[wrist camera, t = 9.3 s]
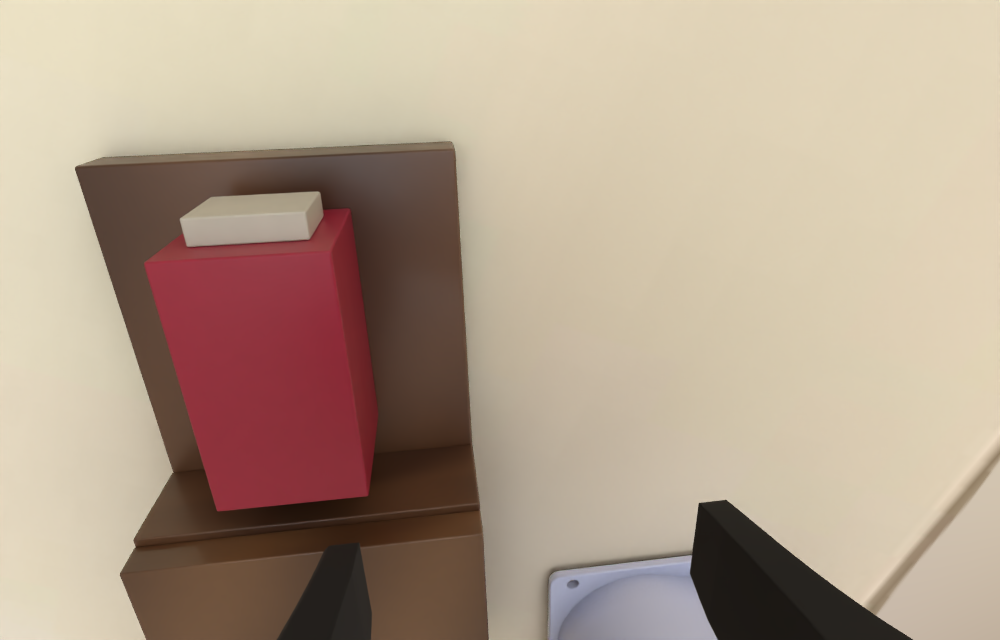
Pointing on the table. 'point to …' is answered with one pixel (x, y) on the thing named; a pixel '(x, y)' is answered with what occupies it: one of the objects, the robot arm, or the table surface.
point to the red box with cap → (270, 348)
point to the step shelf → (398, 386)
